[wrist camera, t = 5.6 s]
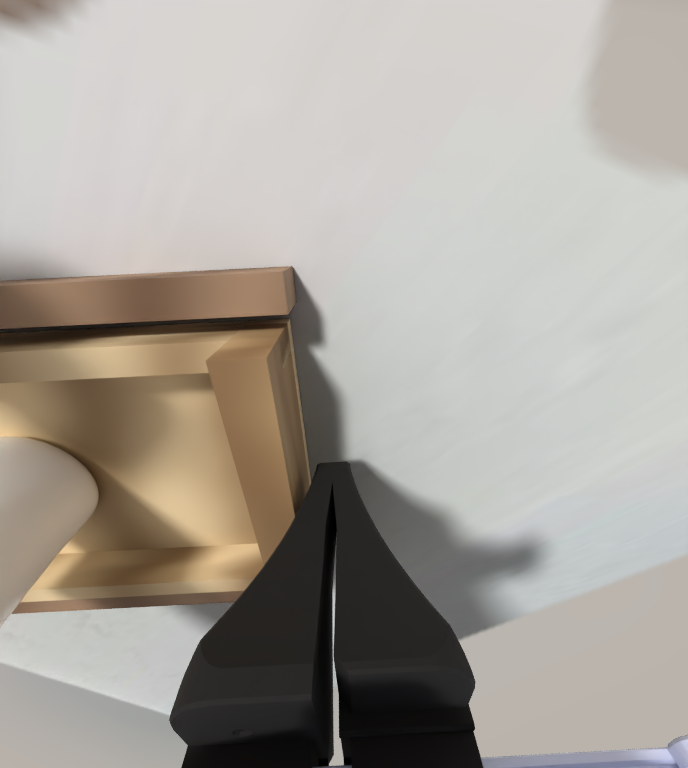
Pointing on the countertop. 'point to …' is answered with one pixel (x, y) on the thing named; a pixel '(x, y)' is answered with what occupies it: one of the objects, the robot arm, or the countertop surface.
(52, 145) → the countertop surface
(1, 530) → the drinking glass
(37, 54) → the countertop surface
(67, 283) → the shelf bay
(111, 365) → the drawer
